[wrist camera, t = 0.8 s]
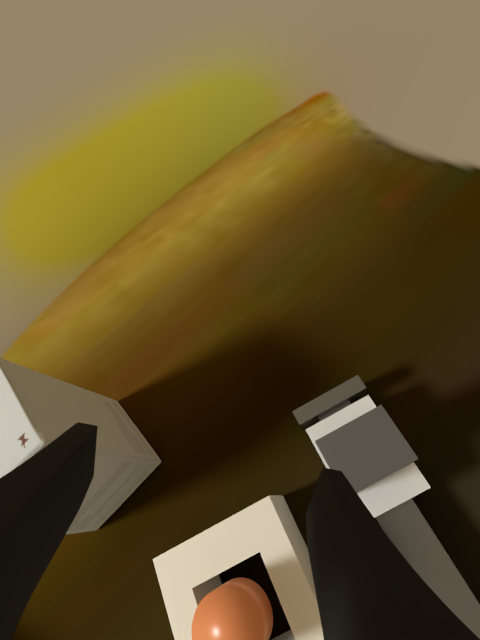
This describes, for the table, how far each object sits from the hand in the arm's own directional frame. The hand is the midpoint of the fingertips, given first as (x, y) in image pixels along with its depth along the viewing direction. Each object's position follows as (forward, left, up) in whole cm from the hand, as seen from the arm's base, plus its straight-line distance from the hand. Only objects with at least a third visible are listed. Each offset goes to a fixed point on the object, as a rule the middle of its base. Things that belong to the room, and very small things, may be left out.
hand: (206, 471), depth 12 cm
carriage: (-1, -5, -16) cm, 17 cm away
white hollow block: (-5, +5, -16) cm, 18 cm away
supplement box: (+8, +13, -17) cm, 23 cm away
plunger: (-5, +5, -14) cm, 16 cm away
